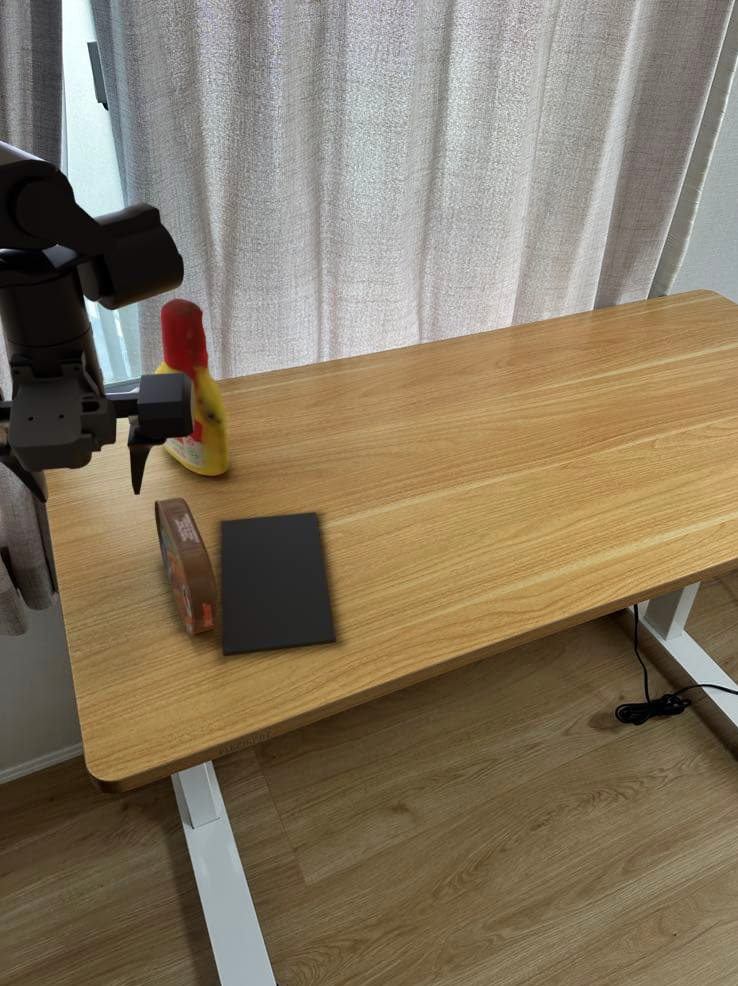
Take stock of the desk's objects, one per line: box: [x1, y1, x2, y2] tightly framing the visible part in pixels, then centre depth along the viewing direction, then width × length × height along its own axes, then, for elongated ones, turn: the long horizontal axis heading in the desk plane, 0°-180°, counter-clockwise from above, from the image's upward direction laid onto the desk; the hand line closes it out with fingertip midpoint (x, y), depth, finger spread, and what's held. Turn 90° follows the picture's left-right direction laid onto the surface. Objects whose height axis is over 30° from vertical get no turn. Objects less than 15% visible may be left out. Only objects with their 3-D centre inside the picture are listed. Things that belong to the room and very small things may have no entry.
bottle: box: [154, 298, 230, 477], centre depth 88 cm, size 12×6×20 cm, turn 37°
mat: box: [220, 511, 337, 656], centre depth 79 cm, size 10×18×1 cm, turn 11°
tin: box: [154, 497, 220, 636], centre depth 74 cm, size 15×3×8 cm, turn 25°
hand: (92, 495), depth 68 cm, fingers open, 7 cm apart
